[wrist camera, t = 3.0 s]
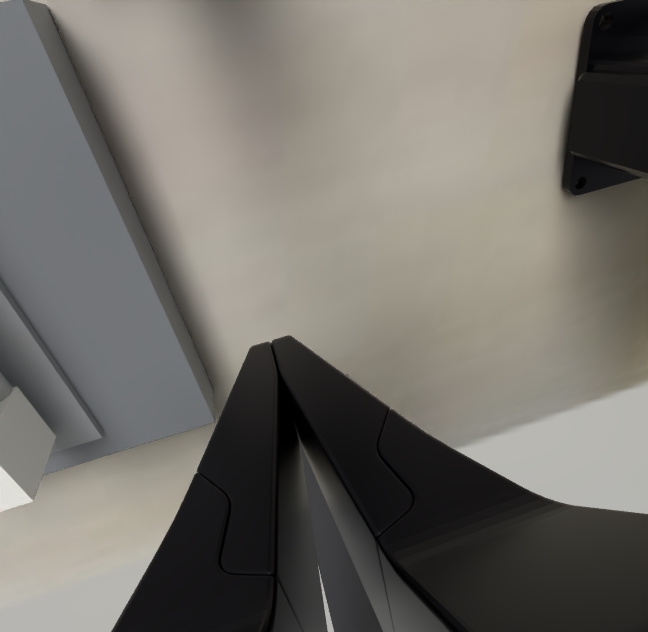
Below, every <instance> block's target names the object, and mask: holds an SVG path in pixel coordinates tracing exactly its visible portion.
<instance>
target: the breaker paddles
mask: <svg viewBox="0 0 648 632" xmlns="http://www.w3.org/2000/svg"><path fill="white" fill-rule="evenodd" d="M55 438H56V436H55V434H54V433H53V432H52V431H51V429H50V428H49V427H48V425H47V424H46V423H45V422H44V420H43V419H42V418H41V416H40V415H39V414H38V413H37V411H36V410H35V409H34V407H33V406H32V405H31V404H30V402H29V401H28V400H27V398H26V397H25V396H24V395H23V393H22V392H21V391H20V389H19V388H18V387H17V386H16V387H12V386H11V385H10V383H9V382H8V381H7V380H6V378H5V377H4V376H3V375H2V373H1V372H0V512H1V511H4V510H8V509H11V508H14V507H17V506H20V505H23V504H27V503H30V502H33V501H34V498H35V496H36V493H37V490H38V487H39V484H40V481H41V478H42V476H43V473H44V470H45V467H46V464H47V461H48V458H49V456H50V455H51V454H52V453H53V452H54V451H55V449H56V445H57V444H56V442H55Z"/></svg>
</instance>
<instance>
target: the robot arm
mask: <svg viewBox="0 0 648 632" xmlns="http://www.w3.org/2000/svg"><path fill="white" fill-rule="evenodd" d="M602 16H604V22H603V25H602V26H601V27H600V25H599V23H600V20H601V17H602ZM638 178H646V179H648V0H616V1H612V2H607V3H603V4H599V5H597V6H595V7H594V8H593V9H592V10H591V11H590V12H589V14H588V15H587V17H586V20H585V24H584V30H583V38H582V45H581V52H580V60H579V67H578V75H577V82H576V89H575V97H574V104H573V112H572V119H571V126H570V134H569V141H568V149H567V156H566V164H565V171H564V178H563V189H564V190H565V191H566V192H568V193H571V194H573V195H581V194H584V193H588V192H591V191H595V190H599V189H602V188H606V187H609V186H613V185H617V184H620V183H624V182H627V181H631V180H635V179H638ZM578 179H579V181H578V183H577V184H576V185H575V183H576V181H577V180H578ZM271 344H272V345H271ZM296 429H297V430H296ZM297 432H298V434H297ZM298 436H299V438H298ZM299 439H300V442H301V444H302V447H303V449H304V452H305V454H306V457H307V459H308V461H309V463H310V466H311V468H312V470H313V472H314V475H315V477H316V479H317V482H318V484H319V486H320V488H321V491H322V493H323V495H324V498H325V500H326V502H327V504H328V507H329V509H330V511H331V514H332V516H333V518H334V520H335V523H336V525H337V527H338V529H339V532H340V534H341V536H342V539H343V541H344V543H345V545H346V548H347V550H348V552H349V555H350V557H351V559H352V561H353V564H354V566H355V568H356V571H357V573H358V575H359V577H360V580H361V582H362V584H363V587H364V589H365V591H366V593H367V596H368V598H369V600H370V602H371V605H372V607H373V609H374V612H375V614H376V616H377V618H378V621H379V623H380V625H381V628H382V630H383V632H648V514H642V513H641V514H640V513H633V512H624V511H615V510H607V509H599V508H590V507H581V506H573V505H568V504H564V503H560V502H557V501H554V500H551V499H548V498H545V497H543V496H540V495H538V494H535V493H533V492H531V491H529V490H527V489H525V488H523V487H521V486H519V485H517V484H516V483H514V482H512V481H510V480H509V479H507V478H505V477H503V476H501V475H499V474H498V473H496V472H494V471H492V470H490V469H489V468H487V467H485V466H483V465H481V464H480V463H478V462H476V461H474V460H472V459H471V458H469V457H467V456H465V455H463V454H462V453H460V452H458V451H456V450H454V449H453V448H451V447H449V446H447V445H446V444H444V443H442V442H441V441H439V440H437V439H436V438H434V437H432V436H430V435H429V434H427V433H426V432H424V431H423V430H421V429H420V428H418V427H417V426H415V425H414V424H412V423H411V422H409V421H408V420H406V419H405V418H404V417H402V416H401V415H400V414H398V413H397V412H396V411H394V410H392V409H391V410H390V408H389V407H388V406H387V405H386V404H384V403H383V402H381V401H380V400H379V399H377V398H376V397H375V396H373V395H372V394H370V393H369V392H368V391H366V390H365V389H364V388H362V387H361V386H359V385H358V384H357V383H355V382H354V381H353V380H351V379H350V378H348V377H347V376H346V375H344V374H343V373H342V372H340V371H339V370H337V369H336V368H335V367H333V366H332V365H331V364H329V363H328V362H326V361H325V360H324V359H322V358H321V357H320V356H318V355H317V354H315V353H314V352H313V351H311V350H310V349H308V348H307V347H306V346H304V345H303V344H302V343H300V342H299V341H297V340H296V339H295V338H293V337H292V336H289V335H288V336H285V337H281V338H278V339H275V340H273V341H272V343H270V342H265V343H261V344H258V345H255V346H252V347H251V348H250V349H249V352H248V354H247V356H246V359H245V361H244V363H243V365H242V368H241V370H240V372H239V375H238V377H237V379H236V382H235V384H234V386H233V388H232V391H231V393H230V395H229V398H228V400H227V402H226V404H225V407H224V409H223V411H222V414H221V416H220V418H219V421H218V423H217V425H216V427H215V430H214V432H213V434H212V437H211V439H210V441H209V444H208V446H207V448H206V450H205V453H204V455H203V457H202V460H201V462H200V464H199V467H198V469H197V473H196V474H195V475H194V477H193V480H192V482H191V484H190V487H189V489H188V491H187V493H186V496H185V498H184V500H183V502H182V504H181V506H180V508H179V510H178V513H177V515H176V517H175V519H174V521H173V523H172V525H171V526H170V528H169V530H168V532H167V534H166V536H165V538H164V539H163V541H162V543H161V545H160V547H159V549H158V551H157V552H156V554H155V556H154V558H153V559H152V561H151V563H150V565H149V566H148V568H147V570H146V572H145V573H144V575H143V577H142V579H141V580H140V582H139V584H138V586H137V587H136V589H135V591H134V593H133V594H132V596H131V598H130V600H129V601H128V603H127V605H126V607H125V608H124V610H123V612H122V614H121V615H120V617H119V619H118V621H117V623H116V624H115V626H114V628H113V630H112V631H111V632H328V631H327V625H326V617H325V610H324V604H323V597H322V590H321V583H320V576H319V570H318V562H317V555H316V548H315V542H314V535H313V528H312V521H311V514H310V507H309V500H308V493H307V487H306V480H305V473H304V466H303V459H302V452H301V447H300V442H299Z"/></svg>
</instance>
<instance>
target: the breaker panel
mask: <svg viewBox="0 0 648 632" xmlns="http://www.w3.org/2000/svg"><path fill="white" fill-rule="evenodd" d="M0 372H1V373H2V375H3V376H4V377H5V378H6V380H7V381H8V382H9V383H10V385H11V386H12V387H16V386H17V387H18V388H19V389H20V391H21V392H22V393H23V395H24V396H25V397H26V398H27V400H28V401H29V402H30V404H31V405H32V406H33V407H34V409H35V410H36V411H37V413H38V414H39V415H40V416H41V418H42V419H43V420H44V422H45V423H46V424H47V425H48V427H49V428H50V429H51V431H52V432H53V433H54V434H55V436H56V438H55V442H56V444H57V445H56V449H55V451H54V452H53V453H52V454H51V455H50V456H49V458H48V461H47V464H46V467H45V470H44V473H43V475H46V474H49V473H52V472H55V471H58V470H62V469H65V468H68V467H71V466H75V465H78V464H81V463H84V462H87V461H91V460H94V459H97V458H100V457H104V456H107V455H110V454H113V453H117V452H120V451H123V450H126V449H129V448H133V447H136V446H139V445H142V444H146V443H149V442H152V441H155V440H159V439H162V438H165V437H168V436H171V435H175V434H178V433H181V432H184V431H188V430H191V429H194V428H197V427H200V426H204V425H207V424H210V423H213V422H215V411H214V394H213V388H212V385H211V383H210V381H209V379H208V376H207V374H206V372H205V369H204V367H203V365H202V362H201V360H200V358H199V356H198V353H197V351H196V349H195V346H194V344H193V342H192V339H191V337H190V335H189V333H188V330H187V328H186V326H185V323H184V321H183V319H182V316H181V314H180V312H179V309H178V307H177V305H176V303H175V300H174V298H173V296H172V293H171V291H170V289H169V286H168V284H167V282H166V280H165V277H164V275H163V273H162V270H161V268H160V266H159V263H158V261H157V259H156V257H155V254H154V252H153V250H152V247H151V245H150V243H149V240H148V238H147V236H146V233H145V231H144V229H143V227H142V224H141V222H140V220H139V217H138V215H137V213H136V210H135V208H134V206H133V204H132V201H131V199H130V197H129V194H128V192H127V190H126V187H125V185H124V183H123V181H122V178H121V176H120V174H119V171H118V169H117V167H116V164H115V162H114V160H113V157H112V155H111V153H110V151H109V148H108V146H107V144H106V141H105V139H104V137H103V134H102V132H101V130H100V128H99V125H98V123H97V121H96V118H95V116H94V114H93V111H92V109H91V107H90V105H89V102H88V100H87V98H86V95H85V93H84V91H83V88H82V86H81V84H80V81H79V79H78V77H77V75H76V72H75V70H74V68H73V65H72V63H71V61H70V58H69V56H68V54H67V52H66V49H65V47H64V45H63V42H62V40H61V38H60V35H59V33H58V31H57V29H56V26H55V24H54V22H53V19H52V17H51V15H50V12H49V10H48V8H47V5H45V4H41V3H37V2H33V1H29V0H11V1H6V2H1V3H0Z"/></svg>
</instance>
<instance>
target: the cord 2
mask: <svg viewBox="0 0 648 632" xmlns="http://www.w3.org/2000/svg"><path fill="white" fill-rule="evenodd" d="M346 376H347V377H348V375H346ZM348 378H349V377H348ZM296 430H297V429H296ZM297 434H298V432H297ZM298 438H299V436H298ZM299 442H300V439H299ZM300 447H301V452H302V459H303V466H304V473H305V480H306V487H307V493H308V500H309V507H310V514H311V521H312V528H313V535H314V542H315V548H316V555H317V561H318V566H319V570H320V574H321V578H322V582H323V587H324V591H325V595H326V599H327V603H328V607H329V612H330V616H331V620H332V624H333V628H334V632H383V630H382V628H381V625H380V623H379V621H378V618H377V616H376V614H375V612H374V609H373V607H372V605H371V602H370V600H369V598H368V596H367V593H366V591H365V589H364V587H363V584H362V582H361V580H360V577H359V575H358V573H357V571H356V568H355V566H354V564H353V561H352V559H351V557H350V555H349V552H348V550H347V548H346V545H345V543H344V541H343V539H342V536H341V534H340V532H339V529H338V527H337V525H336V523H335V520H334V518H333V516H332V514H331V511H330V509H329V507H328V504H327V502H326V500H325V498H324V495H323V493H322V491H321V488H320V486H319V484H318V482H317V479H316V477H315V475H314V472H313V470H312V468H311V466H310V463H309V461H308V459H307V457H306V454H305V452H304V449H303V447H302V444H301V442H300Z"/></svg>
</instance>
